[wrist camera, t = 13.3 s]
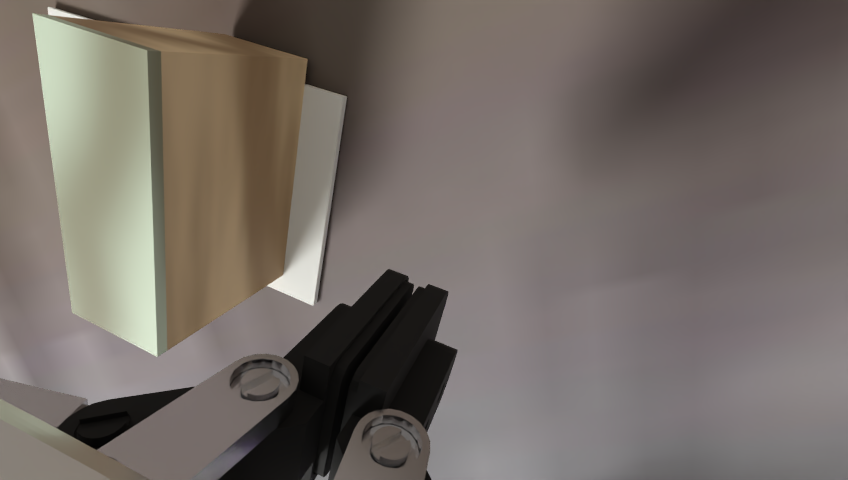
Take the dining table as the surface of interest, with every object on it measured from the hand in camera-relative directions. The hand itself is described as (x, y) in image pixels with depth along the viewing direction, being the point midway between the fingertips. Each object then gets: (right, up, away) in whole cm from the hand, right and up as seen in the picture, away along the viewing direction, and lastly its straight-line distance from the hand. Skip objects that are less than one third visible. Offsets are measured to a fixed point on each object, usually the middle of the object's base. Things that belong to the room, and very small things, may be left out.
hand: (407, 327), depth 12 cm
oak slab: (-7, +6, +8) cm, 12 cm away
